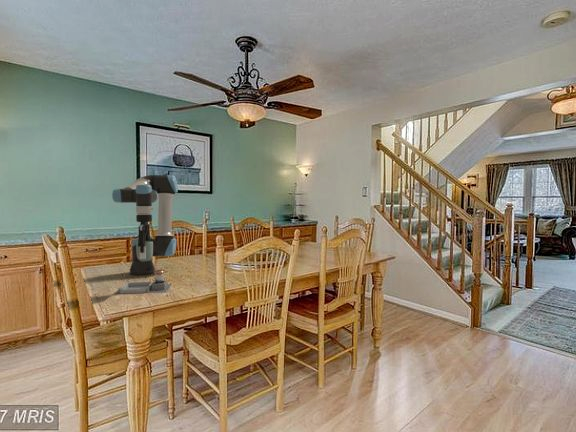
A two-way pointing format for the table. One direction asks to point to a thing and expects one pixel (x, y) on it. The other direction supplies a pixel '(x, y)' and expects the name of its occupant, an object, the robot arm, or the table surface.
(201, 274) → the table surface
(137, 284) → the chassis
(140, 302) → the table surface
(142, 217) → the robot arm
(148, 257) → the cup
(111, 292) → the table surface
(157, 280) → the plunger
